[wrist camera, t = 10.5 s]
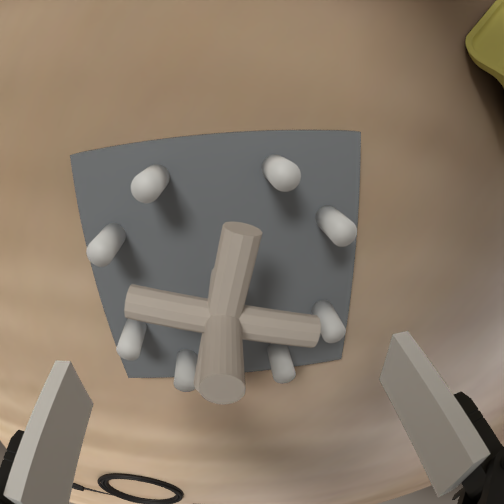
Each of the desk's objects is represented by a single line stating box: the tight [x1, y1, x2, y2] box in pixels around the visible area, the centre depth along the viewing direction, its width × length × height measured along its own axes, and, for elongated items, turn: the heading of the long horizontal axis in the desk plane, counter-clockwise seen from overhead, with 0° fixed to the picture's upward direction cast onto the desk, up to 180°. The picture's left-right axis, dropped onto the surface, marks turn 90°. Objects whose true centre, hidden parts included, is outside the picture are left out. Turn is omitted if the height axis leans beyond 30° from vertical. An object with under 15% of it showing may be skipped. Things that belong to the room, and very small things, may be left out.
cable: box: [72, 473, 183, 504], centre depth 36 cm, size 14×28×2 cm, turn 74°
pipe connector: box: [124, 221, 321, 404], centre depth 16 cm, size 10×10×10 cm
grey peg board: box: [70, 130, 361, 392], centre depth 20 cm, size 18×18×4 cm
